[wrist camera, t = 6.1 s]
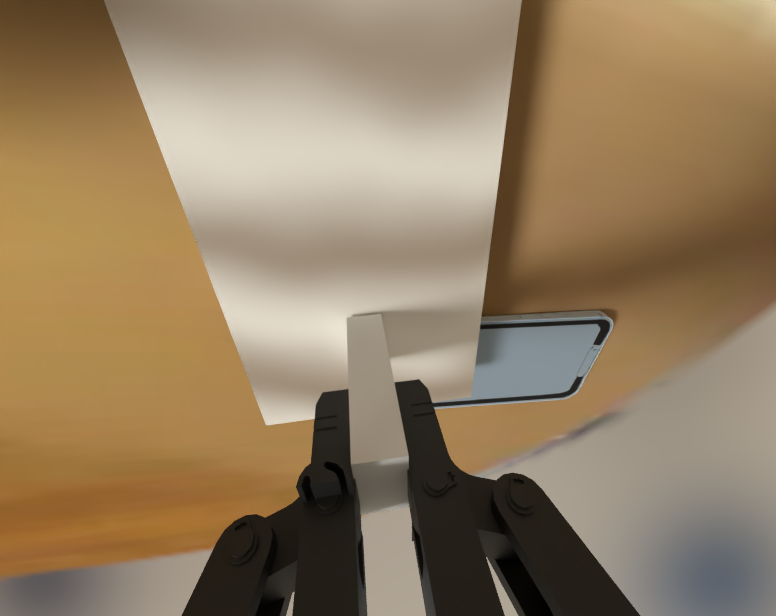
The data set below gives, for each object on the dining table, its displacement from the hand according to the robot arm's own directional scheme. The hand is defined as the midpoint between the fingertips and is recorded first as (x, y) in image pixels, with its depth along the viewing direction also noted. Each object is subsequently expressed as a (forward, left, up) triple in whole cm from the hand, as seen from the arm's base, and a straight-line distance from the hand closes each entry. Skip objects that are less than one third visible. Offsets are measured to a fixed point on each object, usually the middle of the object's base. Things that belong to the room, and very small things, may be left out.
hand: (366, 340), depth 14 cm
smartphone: (+5, +7, -3) cm, 9 cm away
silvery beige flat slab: (-5, 0, -2) cm, 5 cm away
